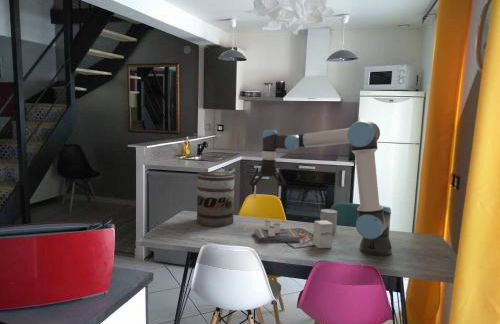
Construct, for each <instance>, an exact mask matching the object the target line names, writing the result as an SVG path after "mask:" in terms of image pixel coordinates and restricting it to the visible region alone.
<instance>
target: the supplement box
mask: <svg viewBox="0 0 500 324" xmlns="http://www.w3.org/2000/svg"><path fill="white" fill-rule="evenodd" d="M312 236H313V238H312V240H313V241H312V244H313V246H315V247H317V249H327V248H328V249H329V248H332V246H333V223H331V222H329V221H327V220H323V221H320V220H314V221H313V235H312Z"/></svg>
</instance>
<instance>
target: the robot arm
mask: <svg viewBox="0 0 500 324" xmlns="http://www.w3.org/2000/svg"><path fill="white" fill-rule="evenodd" d="M380 137H381V129H380V128H379V126H378V125H377V124H376V123H374V122H373V121H369V120H359V121H356V122H354V123H352V124H351V125H350V126H349V127H347V128H339V129H333V130H325V131H317V132H308V133H301V134H278V131H277V130H274V129H273V130H271V129H268V130H267V129H266V130H265V129H264V131H263V132H262V151H261V158H262V159H261V167H255V170H254V173H253V174H252V176H251V178H250V180H249V182H248V184H249V185H250V186H251V192H253V198H254V199H256V197H257V186H256V185H257V184H258V183H259V181H261V179H262V178H263V177H273V178H274V179H275V181H276V182H277V183H278V184H279V185H278V195H277V196H278V199H282V197H281V195H282V193H283V191H284V186H285V187H286V186H287V182H286V180H285V177H284V175H283V173H282V168H280V167H278V168H276V167H277V166H276V165H277V163H276V162H277V160H276V158H277V150H280V149H281V150H289V151H296V150H297V149H304V148H313V147H314V148H315V147H324V146H332V145H333V146H335V145H343V144H344V145H345V144H350V149H351V152H352V153H353V154H354V156H355V167H356V177H357V186H358V188H357V189H358V199H359V206H358V207H357V208H356V213H357V219H356V222H355V229H356V231H357V233H358V234H359V235H360V236H361V237H362V239H361V242H360V243H359V250H360V251H362V252H363V253H366V254H369V255H372V256H374V255H375V256H389V255H391V254H392V253H393V247H392V243H391V239H390V229H391V228H390V227H391V215H392V210H391V207H390V206H385V205H381V204H380V200H379V199H380V198H379V187H378V185H379V184H378V178H377V177H378V175H377V167H376V155H375V153H376V151H377V150H378V140H379V139H380ZM259 172H261V173H260V174H259V175H258V173H259ZM276 172H277V173H278V176H279V177H280V179H279V178H278V177H277V175H276V174H275V173H276ZM257 175H258V176H257ZM256 177H257V178H256Z"/></svg>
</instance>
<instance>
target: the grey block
mask: <svg viewBox="0 0 500 324" xmlns="http://www.w3.org/2000/svg"><path fill="white" fill-rule="evenodd" d="M319 217H320V218H319V221H323V220H327V221H329V222H331V223H333V234H334V235H335V234H336V233H337V222H338V211H337V210H336V209H332V208H324V209H323V208H322V209H320V216H319Z"/></svg>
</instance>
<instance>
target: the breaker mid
mask: <svg viewBox="0 0 500 324" xmlns="http://www.w3.org/2000/svg"><path fill="white" fill-rule="evenodd" d="M273 226H274V227H275V233H280V229H281V224H280V223H277V222H275V223H273Z"/></svg>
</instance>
